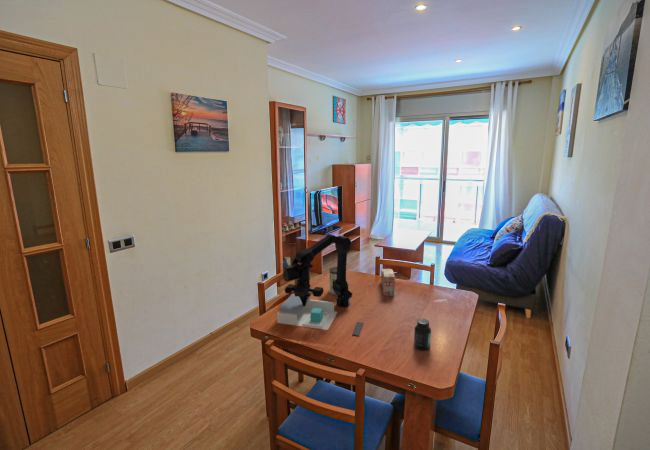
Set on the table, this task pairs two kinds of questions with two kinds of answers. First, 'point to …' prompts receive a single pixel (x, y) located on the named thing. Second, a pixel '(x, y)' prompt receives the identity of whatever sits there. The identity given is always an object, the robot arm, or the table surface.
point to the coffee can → (332, 278)
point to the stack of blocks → (387, 282)
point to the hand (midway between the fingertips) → (304, 306)
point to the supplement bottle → (422, 335)
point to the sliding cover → (292, 305)
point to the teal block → (316, 315)
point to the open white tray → (305, 317)
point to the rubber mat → (358, 329)
